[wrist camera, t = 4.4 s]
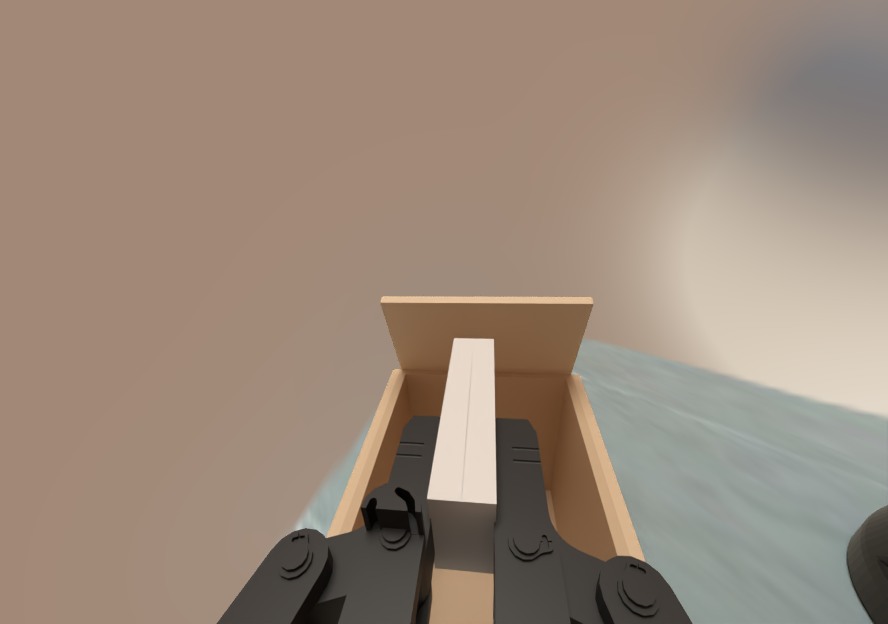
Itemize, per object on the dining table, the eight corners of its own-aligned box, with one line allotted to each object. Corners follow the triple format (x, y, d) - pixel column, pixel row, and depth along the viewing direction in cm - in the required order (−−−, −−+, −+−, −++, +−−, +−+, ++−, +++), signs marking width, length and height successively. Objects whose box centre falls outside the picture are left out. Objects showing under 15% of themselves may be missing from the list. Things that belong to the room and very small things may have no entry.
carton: (409, 479, 31) (393, 369, 26) (561, 490, 30) (579, 375, 24) (338, 785, 17) (267, 684, 11) (628, 840, 15) (713, 754, 10)
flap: (401, 369, 26) (402, 363, 26) (570, 374, 24) (569, 368, 24) (380, 302, 20) (382, 296, 21) (593, 303, 19) (591, 297, 19)
